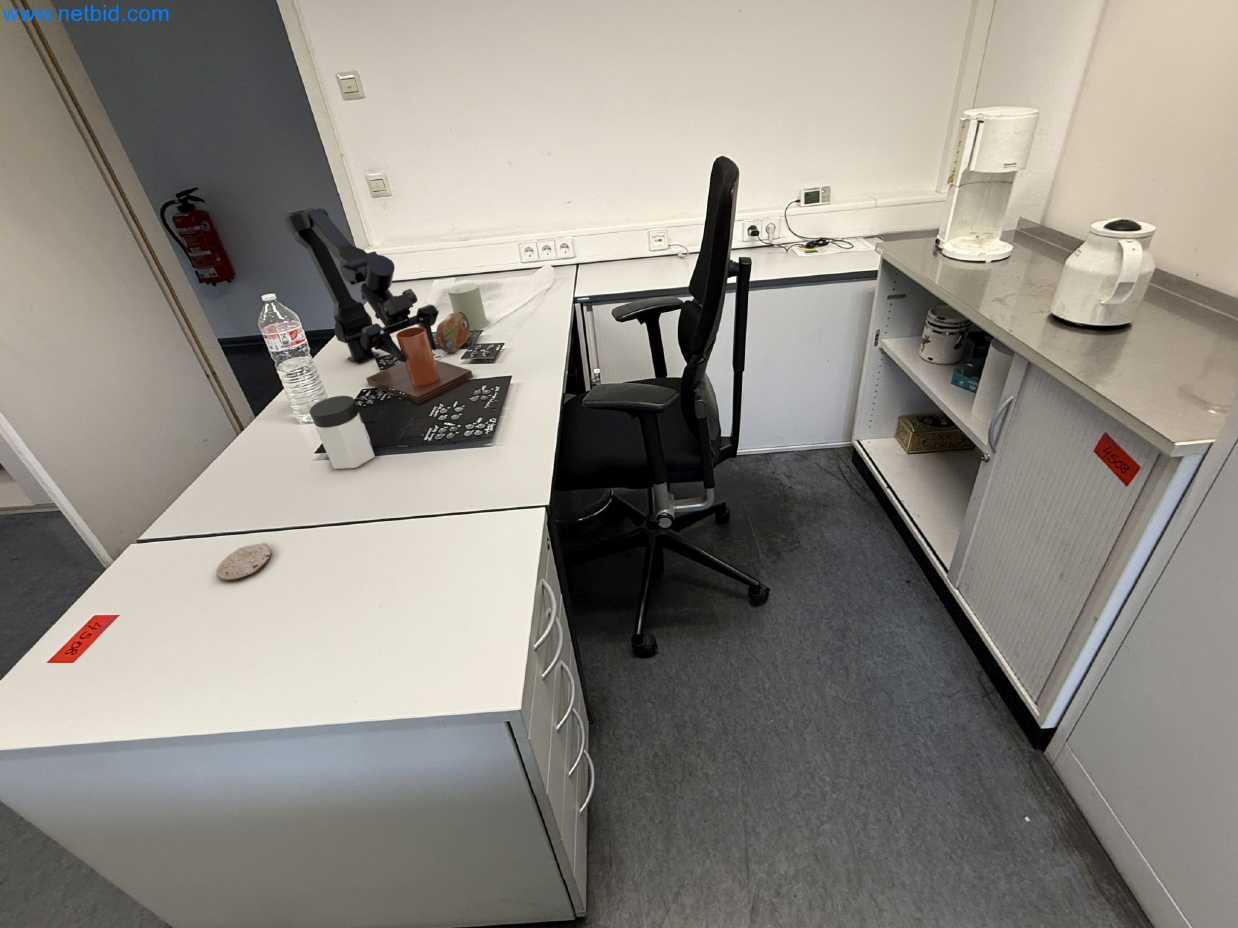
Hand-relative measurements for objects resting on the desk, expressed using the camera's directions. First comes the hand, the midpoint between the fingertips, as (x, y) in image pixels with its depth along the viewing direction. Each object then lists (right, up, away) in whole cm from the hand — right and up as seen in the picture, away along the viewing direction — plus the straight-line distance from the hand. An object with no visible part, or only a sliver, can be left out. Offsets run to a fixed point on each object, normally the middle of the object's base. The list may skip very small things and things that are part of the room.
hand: (420, 355), depth 137 cm
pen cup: (0, -5, +4) cm, 7 cm away
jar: (-7, -25, -20) cm, 32 cm away
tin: (+1, +7, +26) cm, 27 cm away
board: (-3, -5, +9) cm, 10 cm away
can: (+2, +16, +39) cm, 43 cm away
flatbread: (-12, -41, -45) cm, 62 cm away
